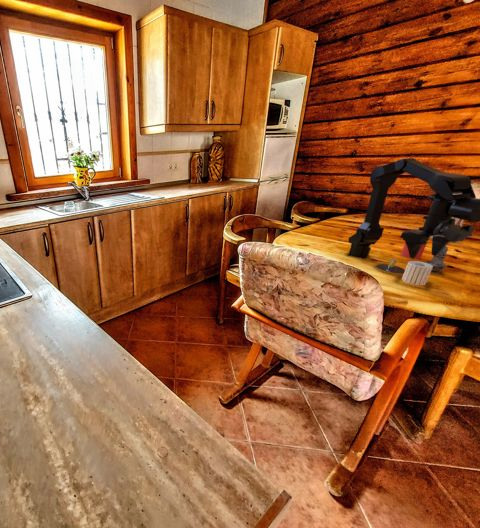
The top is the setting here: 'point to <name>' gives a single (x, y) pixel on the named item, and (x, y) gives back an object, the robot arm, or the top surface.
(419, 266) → the grey ribbed cylinder
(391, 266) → the towel stand
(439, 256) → the dark grey tapered piece
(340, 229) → the top surface
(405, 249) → the beer can
